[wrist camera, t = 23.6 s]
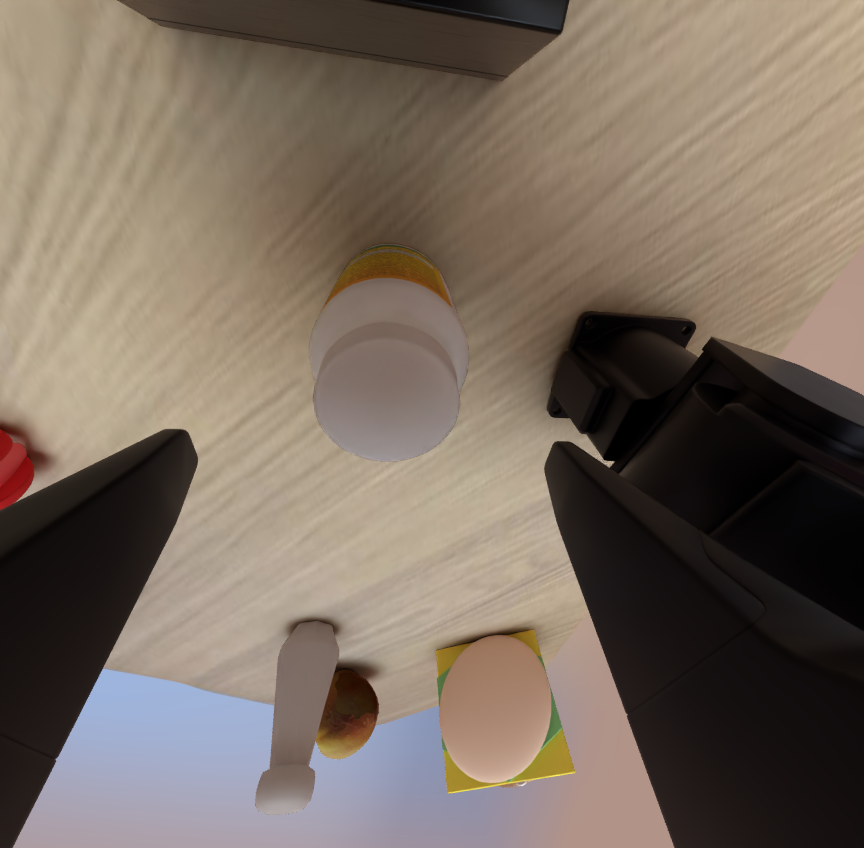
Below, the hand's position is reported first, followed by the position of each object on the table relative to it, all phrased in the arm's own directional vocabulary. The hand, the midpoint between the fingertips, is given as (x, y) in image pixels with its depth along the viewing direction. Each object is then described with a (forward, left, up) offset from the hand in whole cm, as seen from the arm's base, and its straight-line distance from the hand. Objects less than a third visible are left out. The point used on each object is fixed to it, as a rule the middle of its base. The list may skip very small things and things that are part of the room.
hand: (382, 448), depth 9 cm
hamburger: (-13, +41, -11) cm, 44 cm away
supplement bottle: (0, 0, -11) cm, 11 cm away
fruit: (+4, +47, -11) cm, 48 cm away
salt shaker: (+7, +35, -11) cm, 37 cm away
